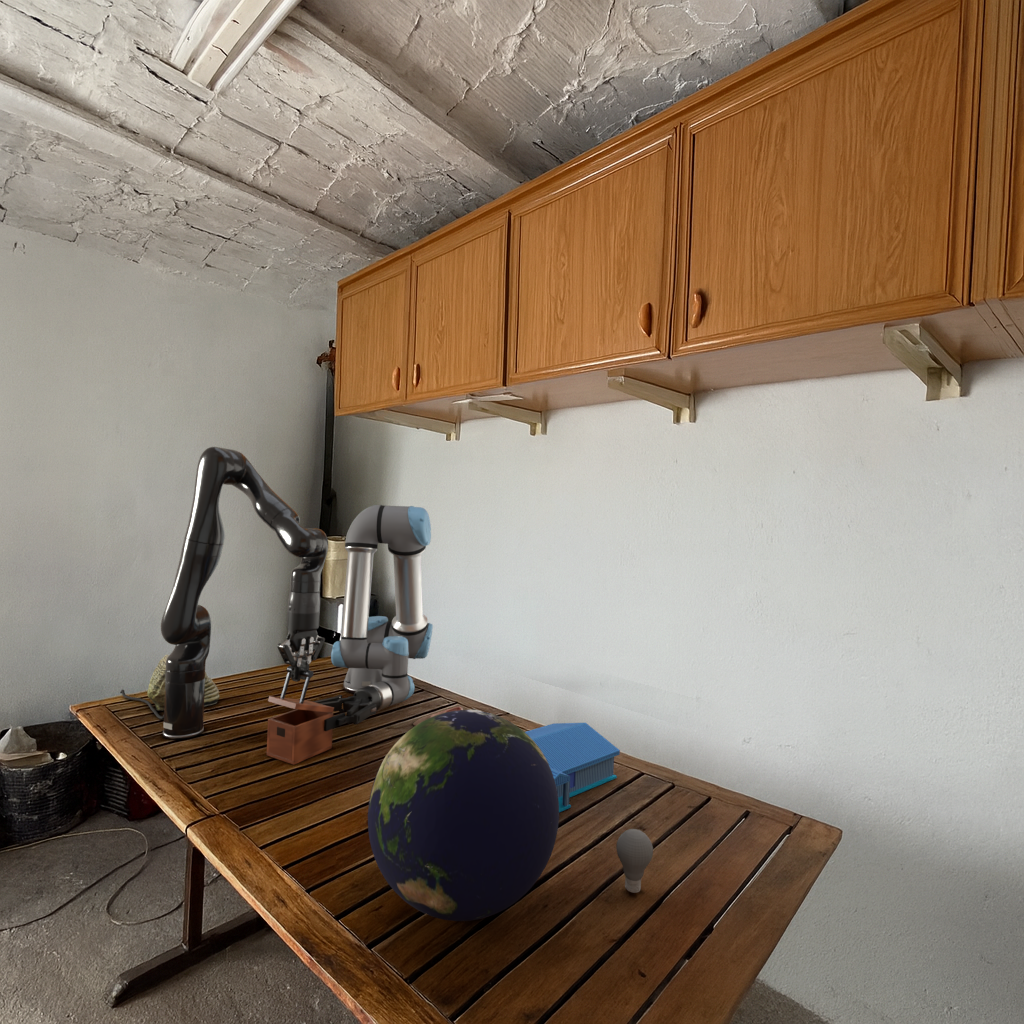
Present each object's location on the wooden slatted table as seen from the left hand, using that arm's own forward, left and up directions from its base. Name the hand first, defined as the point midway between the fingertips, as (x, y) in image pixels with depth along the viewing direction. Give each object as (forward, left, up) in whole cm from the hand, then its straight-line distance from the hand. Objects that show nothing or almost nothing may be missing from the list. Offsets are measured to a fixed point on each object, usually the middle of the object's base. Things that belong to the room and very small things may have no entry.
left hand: (299, 679), depth 155 cm
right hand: (-1, +4, -11) cm, 12 cm away
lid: (0, +1, -7) cm, 7 cm away
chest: (0, +1, -18) cm, 18 cm away
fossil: (-51, -11, -18) cm, 55 cm away
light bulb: (+87, +19, -18) cm, 90 cm away
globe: (+71, -5, -18) cm, 73 cm away
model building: (+49, +33, -18) cm, 61 cm away
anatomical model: (+5, +40, -18) cm, 44 cm away
